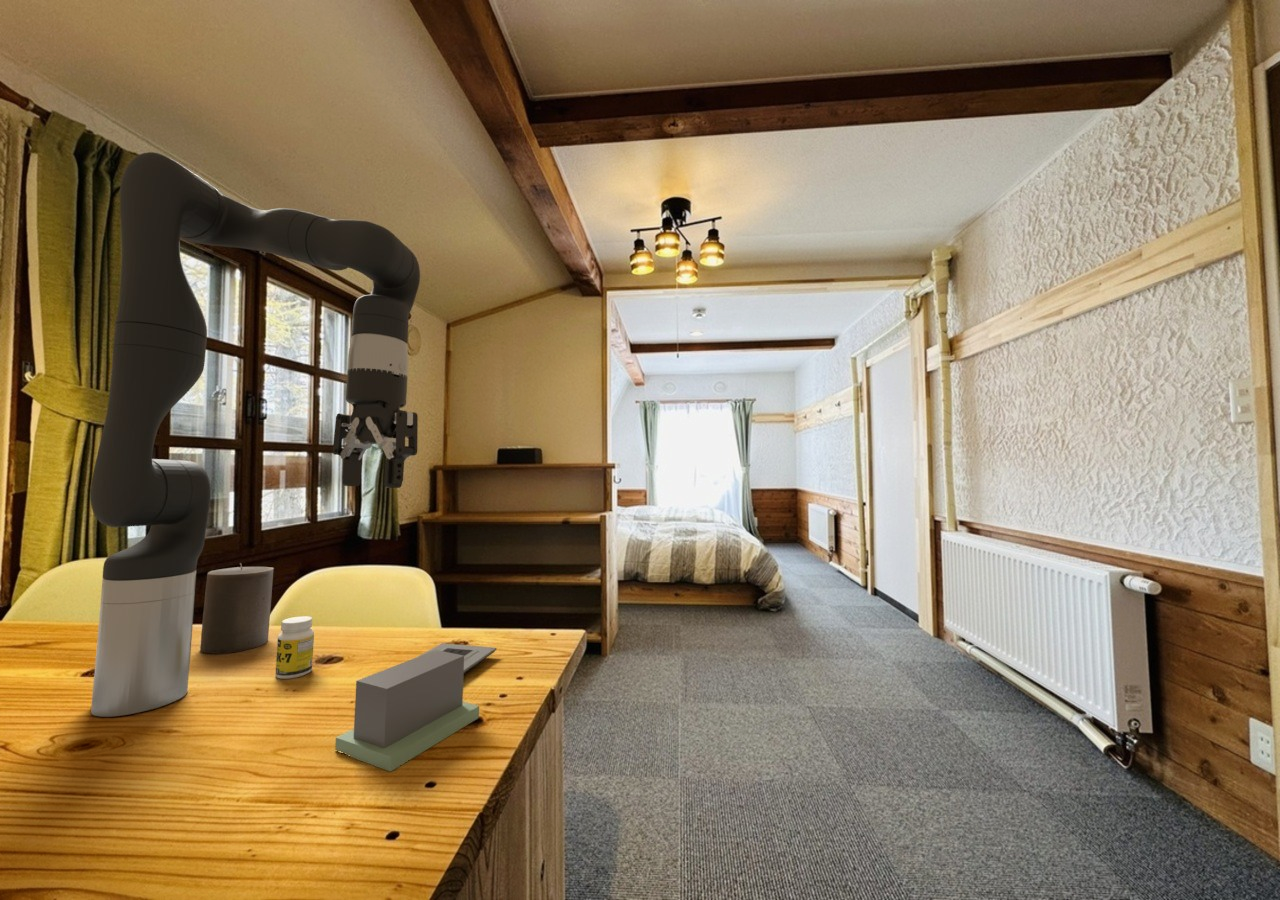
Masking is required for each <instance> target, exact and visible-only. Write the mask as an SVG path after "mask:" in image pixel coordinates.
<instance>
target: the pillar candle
mask: <svg viewBox="0 0 1280 900" xmlns="http://www.w3.org/2000/svg"><path fill="white" fill-rule="evenodd" d="M239 565H240V566H237V567H235V566H234V567H227V568H221V569H220V568H219V569H215V570H210V571H208V572H207V575H206V576H207V577H206V584H205V595H204V605H203V613H202V623H201V633H200V635H201V637H200V646H199V647H200V652H201V653H202V654H219V655H220V654H223V655H225V654H231V653H237V652H243V651H247V650H251V649H252V650H253V649H254V648H258V647H260V646H261V647H262V646H263V645H265V644H267V642H268V640H269V632H270V630H269V629H270V622H271V621H270V619H271V618H270V616H271V607H272V594H273V592H272V590H273V578H274V569H275V568H274V567H268V566H242V565H243V564H242V563H241V562H240V563H239Z"/></svg>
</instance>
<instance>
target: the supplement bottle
mask: <svg viewBox="0 0 1280 900" xmlns="http://www.w3.org/2000/svg"><path fill="white" fill-rule="evenodd" d="M280 625H281V626H280V630H281V632H280V633H279V634H278V636H277V642H276V643H277V646H276V657H275V658H276V662H275V677H276V678H277V679H282V680H283V679H284V680H288V679H295V678H299V677H303V676H305V675H307V674H309V673H311V671H312V670H313V661H314V658H313V657H314V643H315V631H314V630H313V628H312V626H313V617H312V616H306V615H305V616H304V615H303V616H295V617H294V616H293V617H289V618H286V619H283V620H281V624H280Z"/></svg>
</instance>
